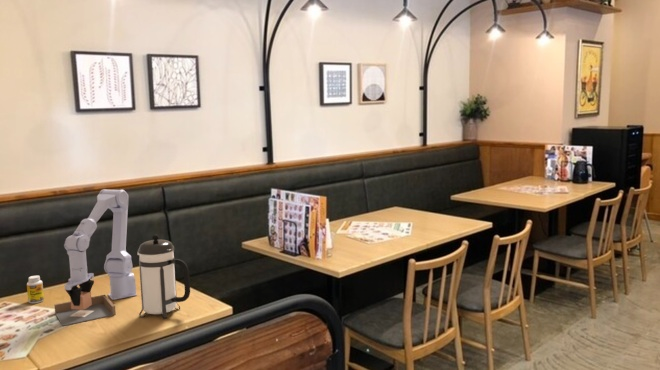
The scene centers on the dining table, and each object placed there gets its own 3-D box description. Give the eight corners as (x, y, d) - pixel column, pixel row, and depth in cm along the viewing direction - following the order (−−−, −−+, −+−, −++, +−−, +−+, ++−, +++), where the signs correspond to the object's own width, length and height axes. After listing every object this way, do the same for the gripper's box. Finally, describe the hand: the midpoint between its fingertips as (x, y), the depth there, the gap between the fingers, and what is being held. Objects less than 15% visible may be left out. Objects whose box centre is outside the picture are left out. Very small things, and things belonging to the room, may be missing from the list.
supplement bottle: (29, 305, 213) (26, 279, 212) (27, 301, 218) (25, 276, 217) (44, 302, 216) (42, 277, 215) (43, 298, 221) (41, 273, 220)
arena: (105, 302, 214) (104, 294, 214) (115, 314, 201) (115, 306, 201) (55, 313, 204) (54, 304, 204) (62, 326, 191) (61, 317, 191)
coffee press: (142, 324, 192) (137, 241, 188) (136, 310, 206) (131, 232, 202) (192, 315, 199) (187, 235, 195) (182, 302, 213) (178, 227, 209)
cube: (79, 304, 205) (78, 291, 204) (91, 305, 204) (90, 292, 203) (71, 309, 200) (70, 296, 199) (83, 309, 199) (82, 296, 198)
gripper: (80, 261, 207) (83, 295, 209) (55, 272, 193) (58, 309, 195) (97, 262, 206) (100, 296, 208) (73, 273, 192) (76, 310, 194)
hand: (81, 302), depth 201 cm, fingers closed on cube, 5 cm apart
